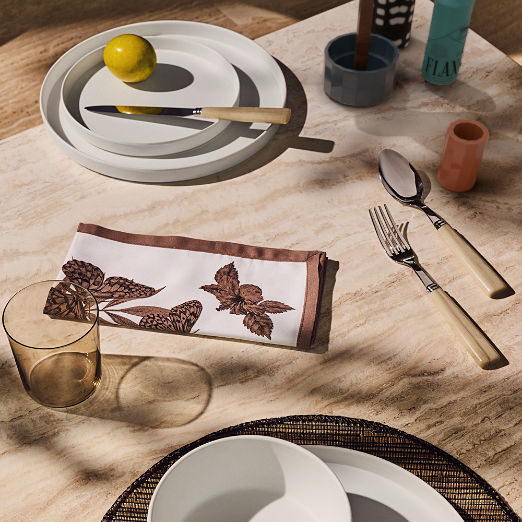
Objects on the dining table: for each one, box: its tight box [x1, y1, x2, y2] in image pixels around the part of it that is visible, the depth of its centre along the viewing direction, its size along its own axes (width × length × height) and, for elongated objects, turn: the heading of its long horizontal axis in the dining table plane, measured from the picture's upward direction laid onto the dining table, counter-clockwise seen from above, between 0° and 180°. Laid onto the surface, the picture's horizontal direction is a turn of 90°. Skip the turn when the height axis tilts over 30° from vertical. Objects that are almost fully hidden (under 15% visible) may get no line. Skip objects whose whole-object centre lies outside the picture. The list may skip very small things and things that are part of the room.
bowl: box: [322, 31, 401, 107], centre depth 115 cm, size 12×12×7 cm
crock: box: [436, 118, 490, 193], centre depth 98 cm, size 6×6×9 cm
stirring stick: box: [353, 0, 374, 71], centre depth 108 cm, size 2×2×24 cm
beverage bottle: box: [420, 0, 476, 86], centre depth 111 cm, size 6×7×20 cm
